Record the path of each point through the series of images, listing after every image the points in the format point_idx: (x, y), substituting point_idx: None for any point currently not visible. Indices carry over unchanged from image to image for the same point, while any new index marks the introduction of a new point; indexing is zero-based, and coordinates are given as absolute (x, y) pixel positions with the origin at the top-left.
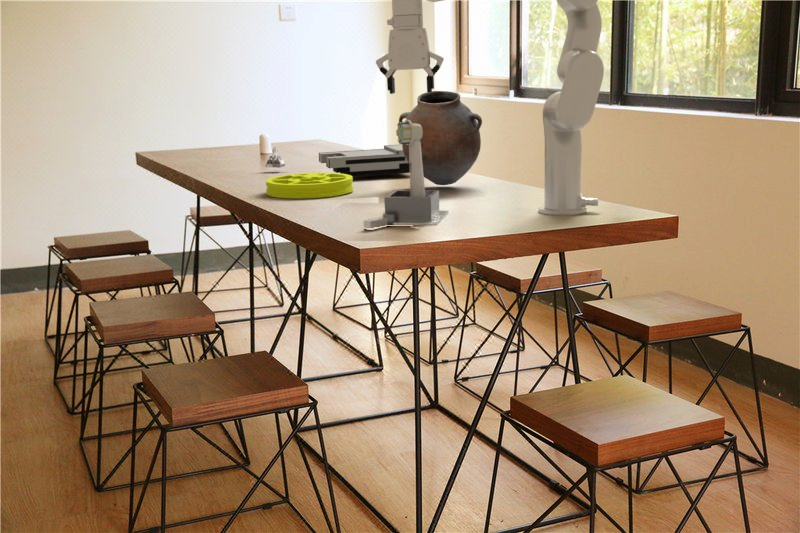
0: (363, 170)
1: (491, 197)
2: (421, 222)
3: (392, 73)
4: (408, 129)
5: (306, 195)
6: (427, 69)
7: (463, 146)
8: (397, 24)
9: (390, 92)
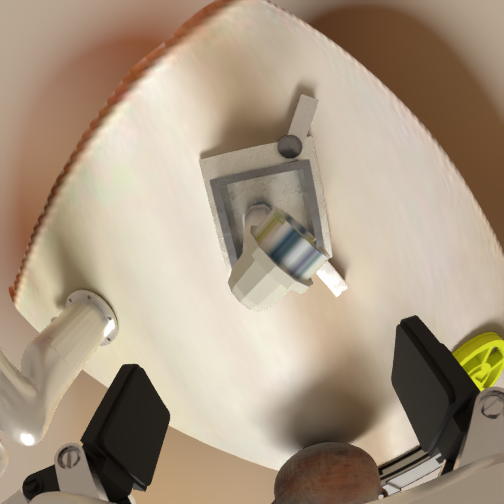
0: (416, 453)
1: (226, 400)
2: (228, 157)
3: (450, 469)
4: (263, 229)
5: (469, 341)
6: (75, 491)
7: (287, 477)
8: None
9: (413, 316)
